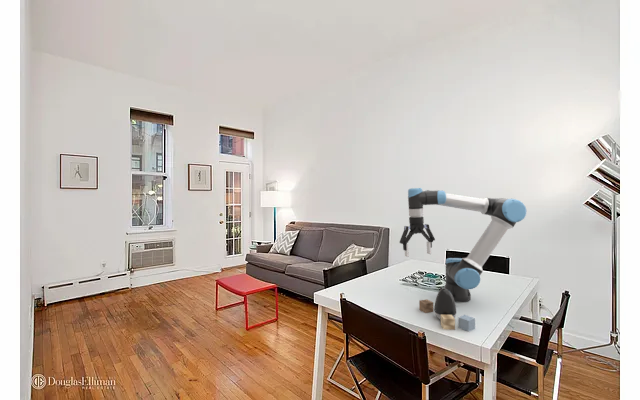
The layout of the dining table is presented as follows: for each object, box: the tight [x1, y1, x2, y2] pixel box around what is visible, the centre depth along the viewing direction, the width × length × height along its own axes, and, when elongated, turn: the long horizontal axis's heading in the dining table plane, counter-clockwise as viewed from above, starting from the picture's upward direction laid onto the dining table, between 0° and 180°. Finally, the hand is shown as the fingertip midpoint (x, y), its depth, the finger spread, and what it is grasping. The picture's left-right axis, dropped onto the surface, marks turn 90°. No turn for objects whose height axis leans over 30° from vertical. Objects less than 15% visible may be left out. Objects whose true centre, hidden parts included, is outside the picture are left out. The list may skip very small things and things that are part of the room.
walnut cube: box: [418, 299, 434, 314], centre depth 166 cm, size 5×5×5 cm
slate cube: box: [457, 314, 476, 333], centre depth 145 cm, size 5×5×5 cm
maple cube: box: [440, 314, 456, 331], centre depth 146 cm, size 5×5×5 cm
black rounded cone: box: [433, 286, 457, 321], centre depth 155 cm, size 10×10×15 cm
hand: (418, 255), depth 173 cm, fingers open, 13 cm apart
